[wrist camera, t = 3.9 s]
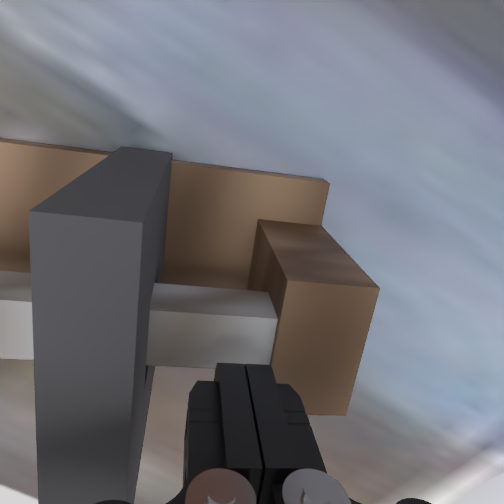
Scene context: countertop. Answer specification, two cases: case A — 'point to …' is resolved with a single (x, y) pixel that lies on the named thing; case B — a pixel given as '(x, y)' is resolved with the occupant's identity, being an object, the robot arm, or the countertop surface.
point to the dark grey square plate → (96, 324)
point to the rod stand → (215, 272)
